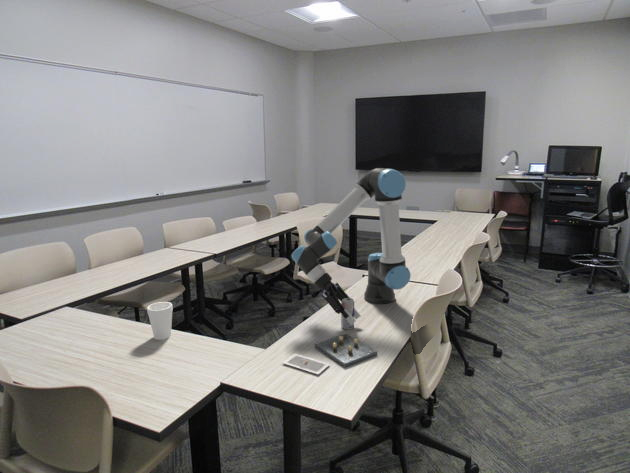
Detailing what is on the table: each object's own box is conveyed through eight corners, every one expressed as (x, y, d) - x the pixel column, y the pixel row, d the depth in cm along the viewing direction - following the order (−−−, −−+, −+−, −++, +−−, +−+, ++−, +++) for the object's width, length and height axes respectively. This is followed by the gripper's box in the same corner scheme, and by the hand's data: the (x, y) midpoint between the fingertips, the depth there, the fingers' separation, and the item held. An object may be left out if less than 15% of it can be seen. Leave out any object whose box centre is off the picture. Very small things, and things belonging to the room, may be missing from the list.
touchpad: (294, 356, 152) (294, 350, 151) (330, 366, 144) (330, 361, 144) (281, 365, 145) (281, 359, 145) (318, 377, 138) (318, 371, 137)
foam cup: (179, 333, 170) (177, 303, 167) (163, 343, 162) (160, 312, 159) (162, 329, 174) (159, 300, 171) (145, 339, 166) (141, 308, 163)
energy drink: (355, 325, 176) (355, 298, 174) (352, 330, 171) (352, 303, 169) (343, 323, 178) (343, 297, 175) (339, 328, 173) (339, 301, 170)
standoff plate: (346, 337, 165) (346, 327, 164) (377, 355, 151) (377, 344, 150) (314, 347, 157) (314, 337, 156) (344, 367, 143) (344, 356, 142)
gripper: (323, 276, 185) (357, 317, 182) (304, 289, 169) (341, 333, 166) (334, 266, 182) (369, 307, 179) (316, 278, 166) (354, 323, 162)
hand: (356, 320), depth 172 cm, fingers closed on energy drink, 5 cm apart
